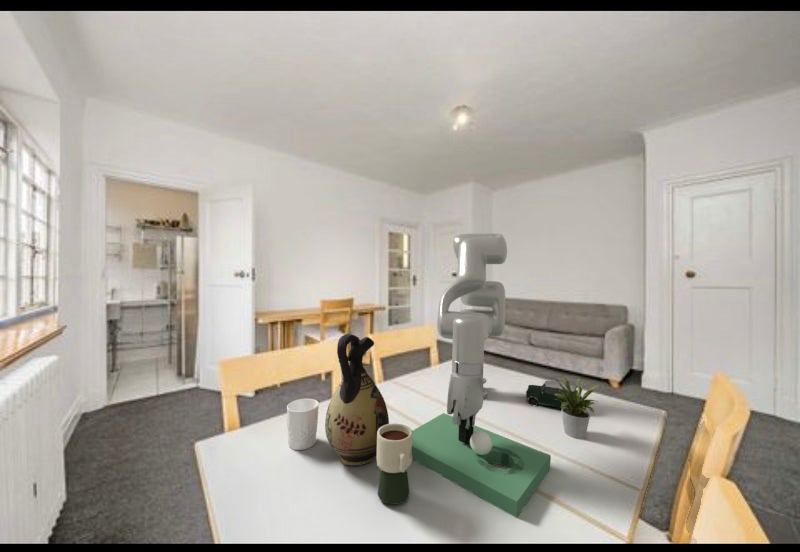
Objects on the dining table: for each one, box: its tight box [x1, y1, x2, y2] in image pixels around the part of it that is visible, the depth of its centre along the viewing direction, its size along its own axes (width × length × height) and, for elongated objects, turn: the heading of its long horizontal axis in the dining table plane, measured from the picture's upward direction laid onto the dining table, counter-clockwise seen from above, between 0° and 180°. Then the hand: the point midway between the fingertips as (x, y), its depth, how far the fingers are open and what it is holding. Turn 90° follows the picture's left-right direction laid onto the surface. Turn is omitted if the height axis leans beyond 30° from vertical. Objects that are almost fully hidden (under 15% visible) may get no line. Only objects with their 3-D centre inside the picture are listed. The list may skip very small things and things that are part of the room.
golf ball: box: [470, 431, 492, 455], centre depth 71 cm, size 5×5×5 cm
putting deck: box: [412, 412, 552, 519], centre depth 73 cm, size 30×20×3 cm, turn 47°
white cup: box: [286, 398, 320, 451], centre depth 79 cm, size 8×8×10 cm
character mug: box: [376, 423, 413, 505], centre depth 61 cm, size 11×7×13 cm, turn 20°
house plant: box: [547, 374, 602, 440], centre depth 87 cm, size 14×14×16 cm
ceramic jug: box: [324, 333, 390, 466], centre depth 74 cm, size 17×15×30 cm
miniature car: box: [524, 380, 583, 409], centre depth 105 cm, size 9×18×8 cm, turn 60°
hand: (465, 441), depth 74 cm, fingers closed
